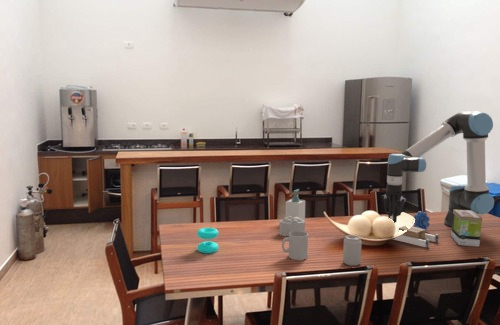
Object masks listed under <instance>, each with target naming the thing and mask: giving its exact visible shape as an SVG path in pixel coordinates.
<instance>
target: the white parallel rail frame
mask: <svg viewBox="0 0 500 325" xmlns="http://www.w3.org/2000/svg"><path fill="white" fill-rule="evenodd" d="M439 236H440V234H439V233H435V235H434V234H429V233H426V232H425V240H422V239H417V238H413V237H409V236H404V235H401V236H399V237H397V238H395V239H393V240H394V241H398V242H402V243H407V244H411V245H414V246H419V247H423V248H427V249H428V248H430V242H434V243H439Z"/></svg>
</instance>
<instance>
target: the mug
mask: <svg viewBox="0 0 500 325" xmlns="http://www.w3.org/2000/svg"><path fill="white" fill-rule="evenodd" d="M286 242H288V248H285V243H286ZM308 249H309V233H308V232H306V231H305V232H304V231H292V232H290V233H289V237H284V238H283V239H282V241H281V250H282V251H283V253H287V254H288V257H289V259H290V258H291V259H290V260H293V259H294V260H293V261H305V260H307V259H308V257H309V254H308V253H309V251H308ZM304 259H305V260H304Z"/></svg>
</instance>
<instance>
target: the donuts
mask: <svg viewBox="0 0 500 325" xmlns="http://www.w3.org/2000/svg"><path fill="white" fill-rule="evenodd" d="M196 235H197V237H198V238H200V239H203V240H207V241H202V242H200V243H199V244H198V245H197V246H196V249H197V251H198V252H199V253H201V252H202V253H201V254H214V253H216V252H218V250H219V248H220V247H219V244H218V243H217V242H214V241H208V240H211V239H216V238H218V236H219V230H218V229H217V228H215V227H202V228H199V229H198V230H197V232H196ZM213 252H214V253H213Z"/></svg>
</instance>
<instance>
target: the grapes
mask: <svg viewBox="0 0 500 325" xmlns="http://www.w3.org/2000/svg"><path fill="white" fill-rule="evenodd" d="M413 218H414V219H415V223H414V224H413V227H417V228H421V229H425V232H426V231H427V230H428V228H429V227H430V222H429V221H430V216H428V213H427V212H425V211H421V210H419V211H417V213H415V214H414V215H413Z"/></svg>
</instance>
